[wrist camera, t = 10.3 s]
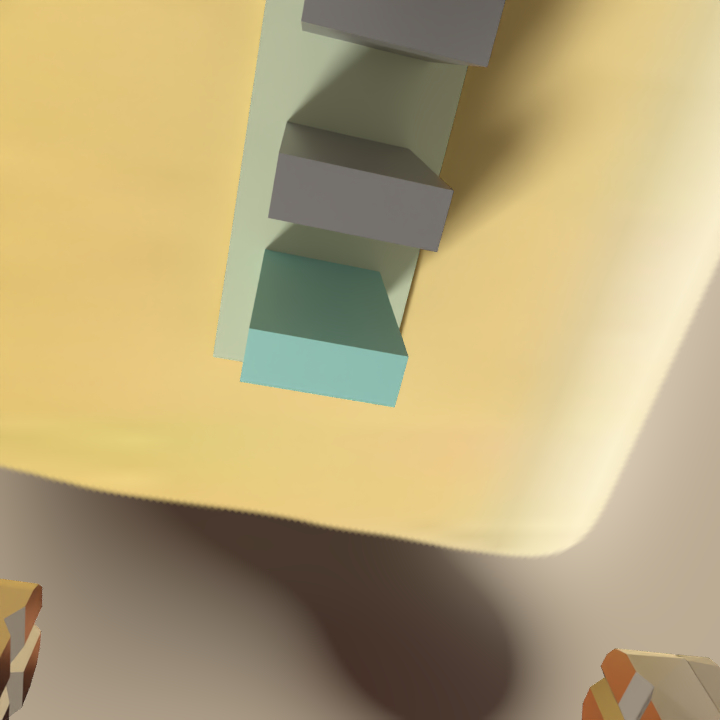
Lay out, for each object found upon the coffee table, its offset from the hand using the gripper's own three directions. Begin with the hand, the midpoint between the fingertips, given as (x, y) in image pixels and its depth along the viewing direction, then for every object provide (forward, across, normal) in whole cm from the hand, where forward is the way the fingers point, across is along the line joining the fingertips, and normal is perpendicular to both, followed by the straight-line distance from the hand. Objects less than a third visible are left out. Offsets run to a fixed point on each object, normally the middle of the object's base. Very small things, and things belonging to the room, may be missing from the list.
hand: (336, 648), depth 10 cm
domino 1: (+18, 0, -9) cm, 20 cm away
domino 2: (+18, 0, -4) cm, 18 cm away
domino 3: (+18, 0, 0) cm, 18 cm away
